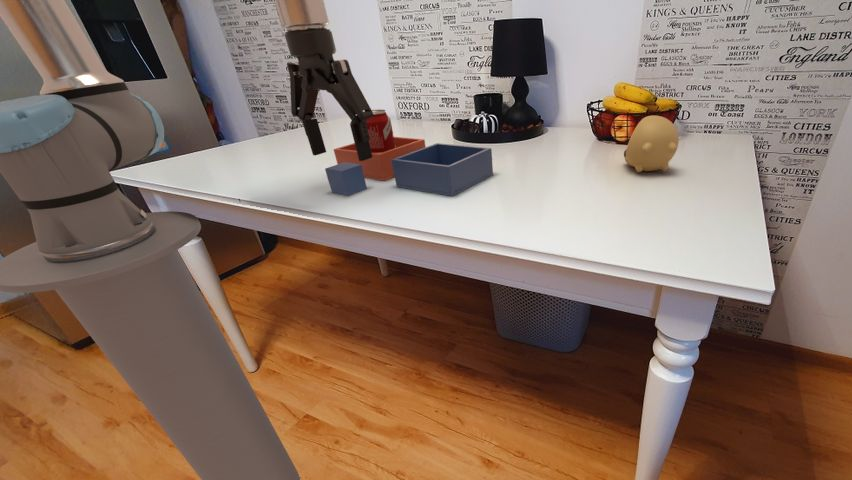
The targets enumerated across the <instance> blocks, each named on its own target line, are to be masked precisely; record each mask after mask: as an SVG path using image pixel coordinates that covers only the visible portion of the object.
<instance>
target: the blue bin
mask: <svg viewBox="0 0 852 480" xmlns="http://www.w3.org/2000/svg"><path fill="white" fill-rule="evenodd" d="M492 151H493V150H492V147H484V146H472V145H462V144H450V143H440V142H436V143H433V144H431V145H429V146H425V148H422V149H419V150H417V151H414V152H411V153H408V154H406V155H403V156H400V157H397V158H395V159H392V160H391V161H392V166H393V171H394V176H395V177H394V181H395V185H396V187H397V188H401V189H407V190H412V191H413V190H414V191H420V192H424V193H430V194H431V193H432V194H437V195H441V196H449V197H454V196H456V195H457V194H460V193H461V192H463V191H465V190H467V189H469V188H471V187H473V186H474V185H476V184H478V183H480V182H482V181H484V180H486V179H488V178H489V177H491V176H493V175H494V172H493V171H494V167H493V153H492Z"/></svg>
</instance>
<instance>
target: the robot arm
mask: <svg viewBox="0 0 852 480" xmlns="http://www.w3.org/2000/svg"><path fill="white" fill-rule="evenodd" d="M273 2H274V5H275V8H276V12H277V15H278V19H279V23H280V25H281V27H282V28H283V29H286V31H285V34H284V38H285V42H286V44H287V48H288V51H289V54H290V56H291V57H293V58H297V61H295V62H287V64H286V65H287V70H288V74H289V83H290V85H289V86H290V88H289V89H290V111H291V115H292V117H294V118H296V117H297V118H298V120H299V121H301V123H302V126H303V129H304V132H305V135H306V138H307V140H308V143H309V146H310V150H311V153H312V156H318V155H323V154H325V153H327V148H326V145H325V143H324V139H323V136H322V135H323V134H322V132H321V129H320V125H319V122H318V118H317V116H316V114H315V111H316V110H315V109H316V105H317V100H318V95H319V92H320V91H326V92H327V93H329V94H331V95H332V96H333V98H334V99H335V101H336V102H337V103H338V104H339V106H340V107H341V108H342V110H343V111H344V112H345V114H346V115H347V116H348V118H349V119H350V120H351V121H350V123H349V127H350V131H351V134H352V138H353V143H355V146H356V150H357V154H358V158H359V161H364V160H367V159H370V158H372V152H371V148H370V144H369V140H370V137H369V133H368V128H367V124H366V121H367V120H368V119H370V118H372V117H373V116H374V115H373V112H372V110H373V109H372V108H371V105H369V103H368V101H367V99H366V97H365V95H364V93H363V92H362V90H361V88H360V86H359V84H358V82H357V81H356V78H355V76H354V75H353V73H352V69H351V66H350V63H349V61H348V59H337V60H336V59H334V56H333V55H334V54H336V53H337V47H336V45H335V40H334V36H333V31H331V29H330V28H328V27H327V26H328V25H329V24H330V21H329V16H328V12H327V9H326V5H325V1H324V0H273ZM0 18H1V20H2V22H4V24H5V26H6V27H7V28H8V30H9V31H10V33H11V34H12V36H13V37H14V39H15V40H16V42H17V43H18V45H19V47H21V50H22V51H23V53H25V55H26V56H27V58H28V59H29V61H30V62H31V64H32V66H33V67H34V68H35V70H36V71H37V73H38V74H39V75H40V77H41V78H42V80H43V84H42V86H41V89H40V91H39V94H38V95H31V96H23V97H19V98H18V97H17V98H14V99H6V100H3V101H0V175H1V176H2V177H3V178H4V180H5V181H6V182H7V183H8V185H9V186H10V188H11V189H12V191H13V192H14V193H15V195H16V196H17V198H18V199H19V200H20V202H21V203H22V205H23V206H24V208H25V209H26V210H27V211H28V213H29V215H30V219H31V224H32V229H33V233H34V237H35V242H37V246H38V249H39V252H40V253H41V254H42V256H43V257H44V258H45V260H47V261H48V262H52V263H70V262H78V261H84V260H89V259H94V258H98V257H102V256H106V255H109V254H113V253H116V252H119V251H122V250H124V249H127V248H130V247H132V246H134V245H137V244H139V243H141V242H143V241H144V240H146V239H148V238H149V237H150V236H152V235H153V234H154V233H155V230H156V229H155V227H154V225H153V223H152V221H151V220H150V219H149V218H148V217H147V216H146V213H147V212H145V211H144V210H143V209H142V208H141V209H140V208H139V207H138V206H137V205H135V204H134V203H133V202H132V201H131V200H130V199H129V197H127V196H126V195H125V194H124V193H123V192H122V191H121V190H120V188H119V187H118V185H117V183H116V181H115V179H114V178H113V176H112V174H111V172H112V171H113V170H116V169H118V168H121V167H124V166H126V165H129V164H132V163H136V162H142V161H144V160H145V159H147V158H148V157H149V156H152V155H153V154H155V153H157V152H158V151H159V150H160V148H161V147H162V144H163V142H164V140H165V128H164V124H163V121H162V119H161V117H160V115H159V113H158V111H157V110H156V109H155V108H154V106H152V105H151V104H150V102H148V101H145V100H143V99H142V98H141V97H140V96H139V95H136V94H133V93H131V91H130V90H129V88H128V86H127V84H126V83H125V80H123V79H122V78H120V77H118V76H116V75H114V74H112V73H110V72H109V71H108V70H107V69H106V68H105V66H104V64H103V62H102V61H101V59H100V57H99V56H98V54H97V53H96V51H95V50H94V47H93V46H92V44H91V42H90V41H89V39H88V37H87V36H86V34H85V33H84V30H83V29H82V27H81V26H80V23H79V22H78V21H77V19H76V17H75V15H74V14H73V12H72V10H71V9H70V8H69V6H68V4H67V2H66V0H0ZM363 111H365V112H363ZM110 171H111V172H110Z"/></svg>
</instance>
